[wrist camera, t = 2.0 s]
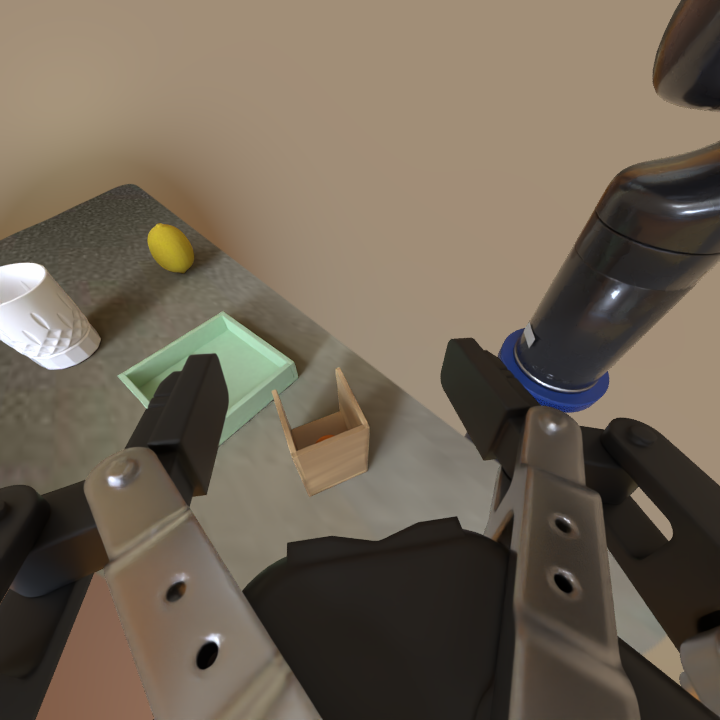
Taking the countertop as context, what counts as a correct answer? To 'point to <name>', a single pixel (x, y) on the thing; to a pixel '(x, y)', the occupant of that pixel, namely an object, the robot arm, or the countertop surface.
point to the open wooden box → (329, 442)
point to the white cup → (43, 318)
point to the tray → (238, 362)
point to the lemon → (170, 248)
